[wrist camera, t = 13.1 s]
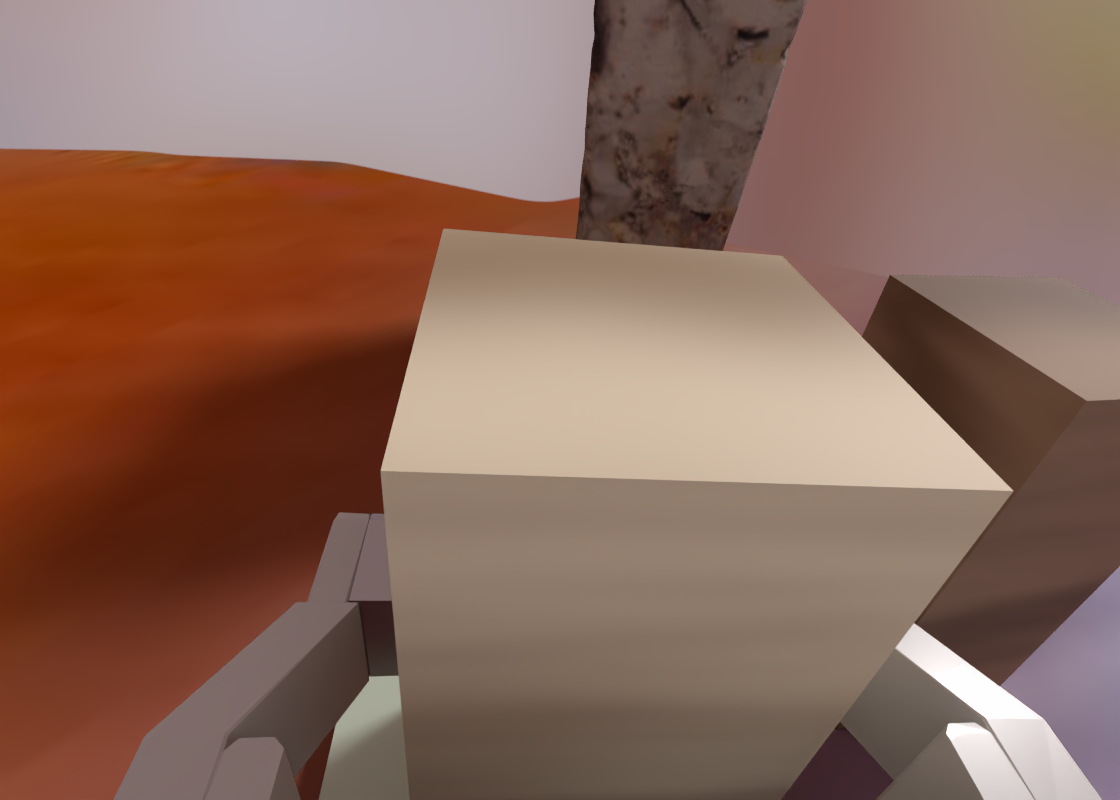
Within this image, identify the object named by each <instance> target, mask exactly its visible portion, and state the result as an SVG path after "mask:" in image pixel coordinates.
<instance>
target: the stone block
mask: <svg viewBox="0 0 1120 800" xmlns="http://www.w3.org/2000/svg"><path fill="white" fill-rule="evenodd" d="M806 1H807V0H595V5H594V31H595V37H594V42H593V47H592V56H591V69H590V79H589V88H588V99H587V116H586V128H585V151H584V158H583V165H582V174H581V185H580V204H579V214H578V224H577V233H576V239H578V240H590V241H603V242H615V243H628V244H640V245H652V246H665V247H677V248H690V249H702V250H715V251H723V249H724V245H725V242H726V239H727V236H728V233H729V231H730V228H731V225H732V222H733V219H734V216H735V213H736V211H737V208H738V204H739V201H740V199H741V196H742V192H743V189H744V186H745V183H746V180H747V177H748V174H749V171H750V169H751V165H752V162H753V159H754V157H755V154H756V151H757V148H758V145H759V142H760V140H761V137H762V134H763V131H764V128H765V125H766V122H767V119H768V116H769V113H770V110H771V107H772V104H773V101H774V98H775V94H776V91H777V88H778V85H779V82H780V79H781V75H782V73H783V69H784V66H785V62H786V59H787V55H788V51H789V48H790V45H791V42H792V40H793V38H794V35H795V33H796V31H797V28H798V25H799V22H800V19H801V16H802V13H803V10H804V7H805V4H806Z"/></svg>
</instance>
